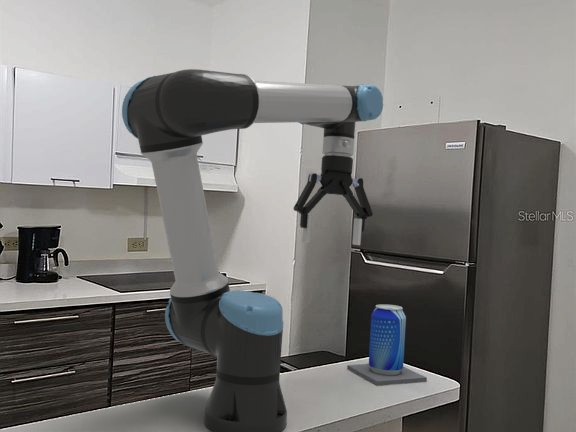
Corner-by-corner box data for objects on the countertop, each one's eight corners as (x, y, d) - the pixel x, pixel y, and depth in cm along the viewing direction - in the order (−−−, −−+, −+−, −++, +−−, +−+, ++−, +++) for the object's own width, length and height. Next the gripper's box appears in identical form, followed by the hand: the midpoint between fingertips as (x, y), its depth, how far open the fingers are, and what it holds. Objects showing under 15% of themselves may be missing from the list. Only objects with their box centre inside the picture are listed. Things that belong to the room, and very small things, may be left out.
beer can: (362, 370, 144) (365, 305, 144) (378, 364, 151) (381, 302, 150) (393, 378, 139) (397, 310, 139) (408, 371, 146) (412, 307, 145)
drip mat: (376, 385, 136) (377, 381, 136) (347, 369, 148) (347, 365, 148) (426, 381, 141) (426, 377, 141) (393, 366, 154) (394, 362, 154)
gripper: (296, 149, 134) (289, 242, 134) (390, 160, 143) (384, 247, 143) (284, 151, 141) (278, 240, 141) (374, 162, 150) (368, 244, 150)
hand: (331, 243), depth 142 cm, fingers open, 13 cm apart
